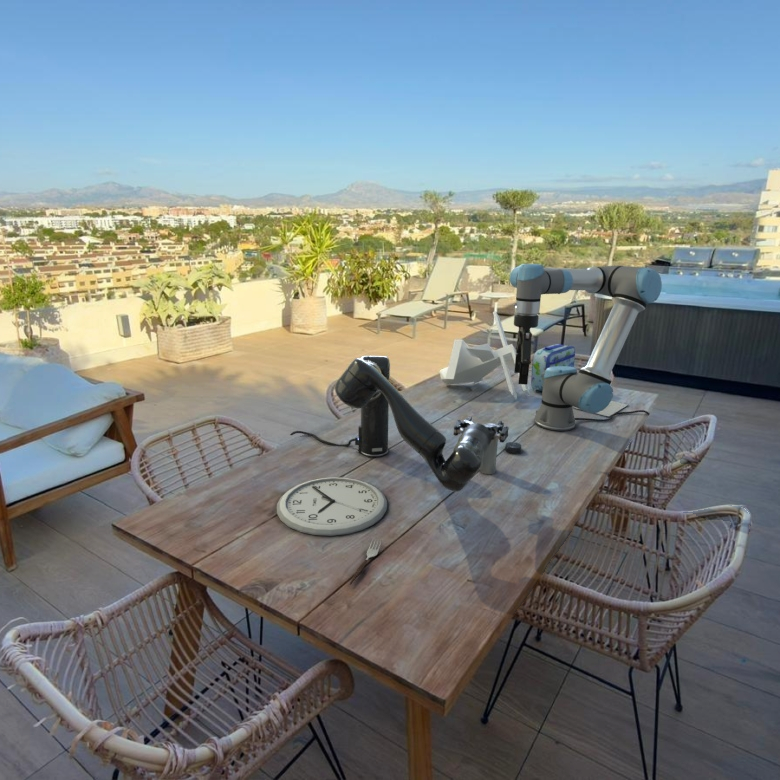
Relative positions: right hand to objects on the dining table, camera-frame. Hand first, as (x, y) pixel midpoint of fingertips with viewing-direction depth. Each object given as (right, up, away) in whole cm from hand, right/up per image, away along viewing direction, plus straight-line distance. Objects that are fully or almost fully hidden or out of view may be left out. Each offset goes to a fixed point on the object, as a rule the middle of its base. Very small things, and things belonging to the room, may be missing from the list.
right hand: (520, 378), depth 172 cm
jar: (-12, -29, -7) cm, 33 cm away
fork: (-49, -43, -54) cm, 85 cm away
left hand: (-16, -13, -24) cm, 31 cm away
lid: (-1, -23, +7) cm, 24 cm away
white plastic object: (-1, -5, +71) cm, 71 cm away
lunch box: (+34, -3, +79) cm, 86 cm away
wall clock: (-59, -35, -29) cm, 75 cm away
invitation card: (+48, -11, +54) cm, 73 cm away
